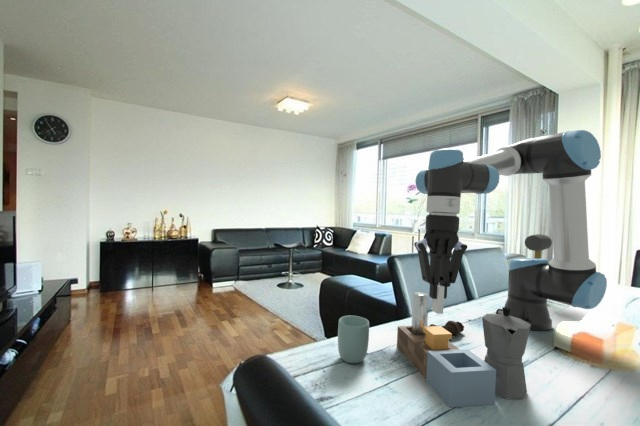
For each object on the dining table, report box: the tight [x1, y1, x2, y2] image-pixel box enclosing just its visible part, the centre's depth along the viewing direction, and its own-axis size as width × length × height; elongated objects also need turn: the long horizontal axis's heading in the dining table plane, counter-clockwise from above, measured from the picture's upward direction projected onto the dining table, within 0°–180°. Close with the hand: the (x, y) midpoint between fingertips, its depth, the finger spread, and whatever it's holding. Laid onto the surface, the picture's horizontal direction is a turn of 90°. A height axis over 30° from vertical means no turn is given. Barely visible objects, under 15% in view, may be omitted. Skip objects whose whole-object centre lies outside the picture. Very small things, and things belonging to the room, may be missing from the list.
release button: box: [423, 325, 453, 350], centre depth 75 cm, size 5×5×7 cm
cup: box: [337, 315, 370, 364], centre depth 79 cm, size 8×8×10 cm
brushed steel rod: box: [411, 291, 430, 336], centre depth 84 cm, size 4×4×16 cm
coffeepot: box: [481, 306, 531, 401], centre depth 69 cm, size 15×9×18 cm, turn 159°
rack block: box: [425, 348, 496, 408], centre depth 66 cm, size 10×9×7 cm
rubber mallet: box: [524, 233, 553, 259], centre depth 141 cm, size 12×8×30 cm, turn 125°
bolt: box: [429, 320, 465, 338], centre depth 95 cm, size 6×5×15 cm
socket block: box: [396, 324, 461, 380], centre depth 79 cm, size 9×16×6 cm, turn 10°
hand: (437, 311), depth 75 cm, fingers closed
